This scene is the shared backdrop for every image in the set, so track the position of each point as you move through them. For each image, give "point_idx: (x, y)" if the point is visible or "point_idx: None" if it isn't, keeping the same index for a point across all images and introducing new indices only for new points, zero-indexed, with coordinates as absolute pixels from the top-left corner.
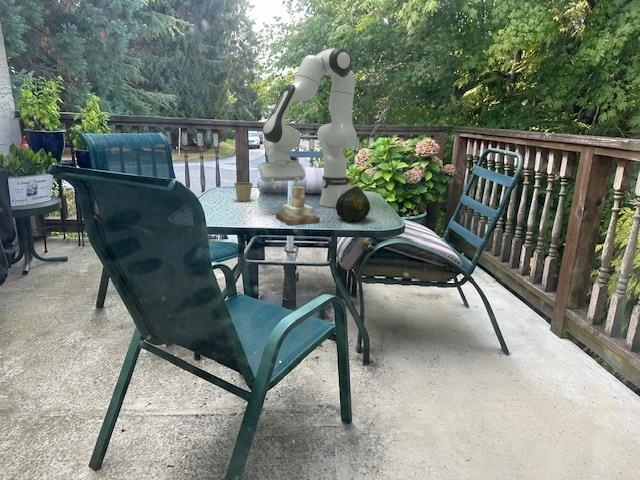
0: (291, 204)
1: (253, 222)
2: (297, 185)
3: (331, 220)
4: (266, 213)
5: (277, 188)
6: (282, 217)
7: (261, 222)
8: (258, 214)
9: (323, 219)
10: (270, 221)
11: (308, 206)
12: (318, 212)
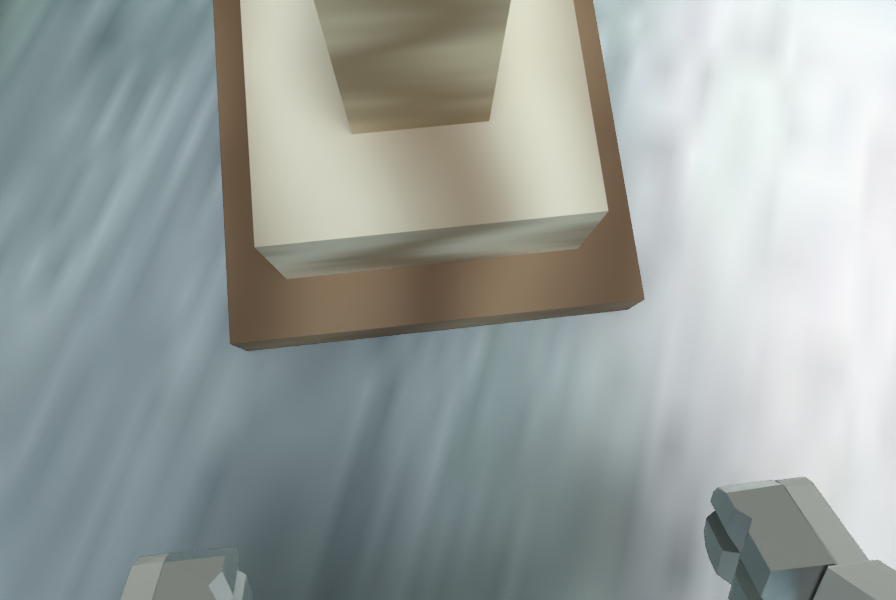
0: (468, 195)
1: (892, 154)
2: (173, 558)
3: (59, 74)
4: (698, 576)
5: (718, 522)
6: (606, 92)
7: (811, 138)
8: None
9: (124, 133)
10: (713, 161)
11: (270, 25)
12: (12, 505)
